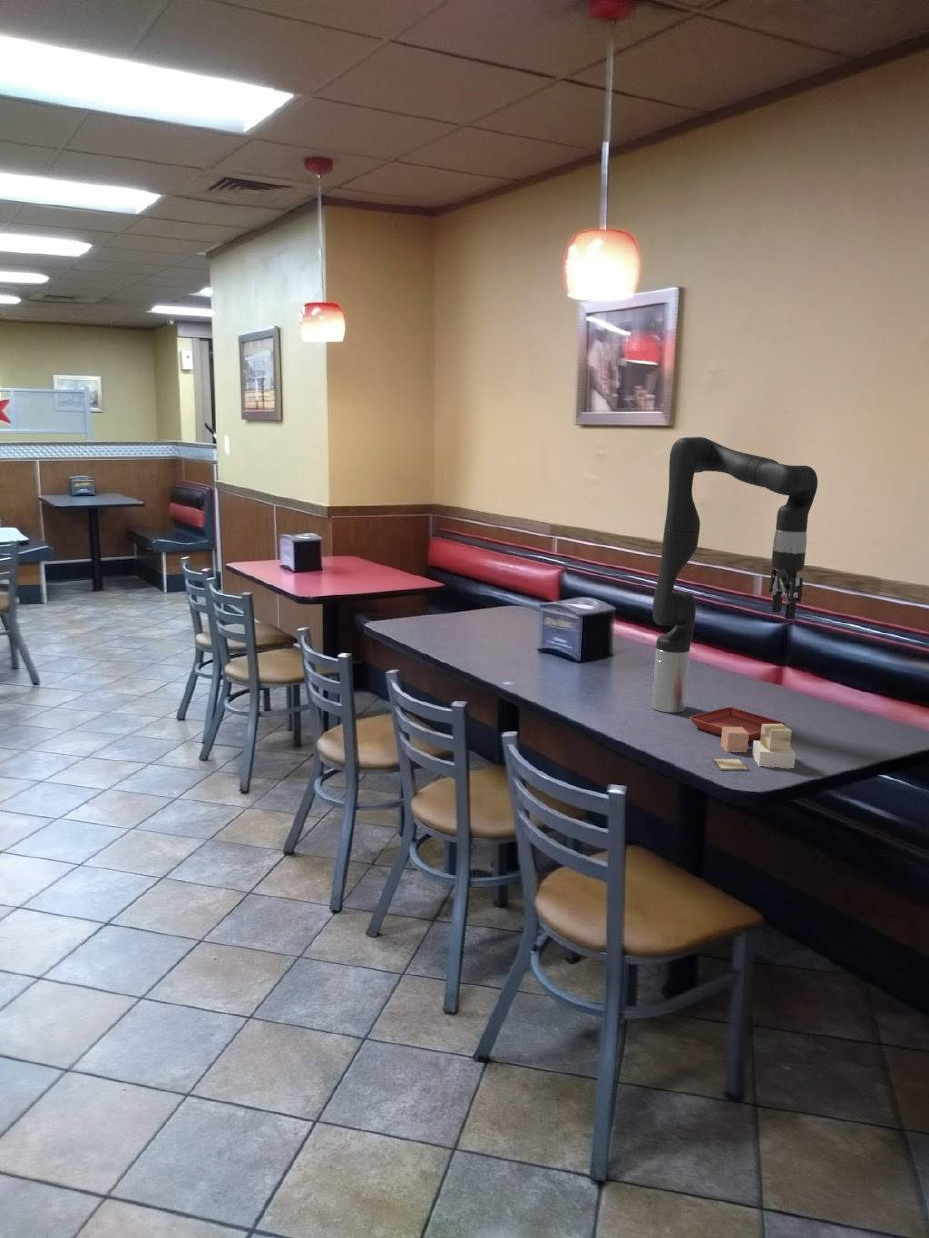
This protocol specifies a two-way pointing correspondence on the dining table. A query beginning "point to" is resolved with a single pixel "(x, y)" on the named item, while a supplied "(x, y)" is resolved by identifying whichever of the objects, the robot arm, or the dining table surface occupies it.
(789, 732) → the maple cube
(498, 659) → the dining table surface
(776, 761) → the base slab
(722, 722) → the plant saucer
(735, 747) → the terracotta cube
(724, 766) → the tile
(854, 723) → the dining table surface
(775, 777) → the dining table surface
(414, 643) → the dining table surface
